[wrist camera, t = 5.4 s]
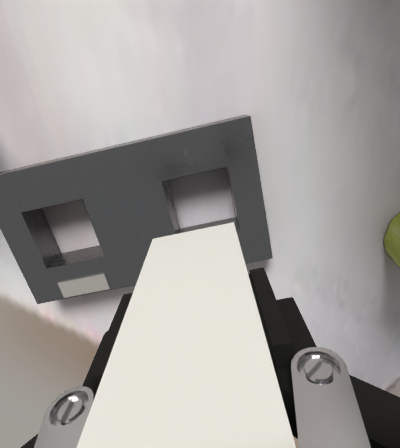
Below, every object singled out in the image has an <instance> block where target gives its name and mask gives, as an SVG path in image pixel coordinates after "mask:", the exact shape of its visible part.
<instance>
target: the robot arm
mask: <svg viewBox="0 0 400 448" xmlns="http://www.w3.org/2000/svg"><path fill="white" fill-rule="evenodd" d="M248 275H249V279H250V283H251V286H252V290H253V294H254V297H255V301H256V304H257V308H258V312H259V315H260V319H261V323H262V326H263V330H264V333H265V337H266V341H267V344H268V348H269V351H270V355H271V359H272V362H273V366H274V370H275V373H276V377H277V380H278V384H279V388H280V391H281V395H282V399H283V402H284V406H285V409H286V413H287V417H288V420H289V424H290V428H291V431H292V435H293V436H294V437H296V438H297V439H298V442H299V448H400V397H398V396H395V395H393V394H391V393H389V392H386V391H384V390H382V389H380V388H378V387H375V386H373V385H371V384H369V383H366V382H364V381H362V380H360V379H358V378H355V377H353V376H351V375H349V373H348V370H347V366H346V364H345V362H344V361H343V359H342V358H341V357H340V356H339V355H338V354H336V353H335V352H333V351H331V350H329V349H325V348H322V347H316V345H315V343H314V341H313V339H312V336H311V334H310V332H309V330H308V328H307V326H306V324H305V322H304V320H303V317H302V315H301V313H300V311H299V309H298V307H297V305H296V303H295V301H294V299H293V298H292V297H291V298H285V299H280V300H276V298H275V296H274V293H273V290H272V288H271V285H270V283H269V280H268V277H267V275H266V272H265V270H264V268H258V269H253V270H250V274H248ZM132 294H133V293H129V294H124V295H123V297H122V299H121V302H120V304H119V306H118V309H117V311H116V314H115V316H114V319H113V321H112V323H111V326H110V328H109V331H107V332H106V333H105V334H104V336H103V338H102V341H101V343H100V346H99V348H98V350H97V353H96V355H95V357H94V360H93V362H92V365H91V367H90V369H89V372H88V374H87V377H86V379H85V381H84V383H83V386H79V387H74V388H72V389H69V390H67V391H65V392H64V393H62V394H61V395H60V396H58V397H57V398H56V399H55V400H54V401H53V402H52V404H51V405H50V406H49V407H48V409H47V411H46V413H45V415H44V419H43V422H42V425H41V428H40V431H39V433H38V434H37V435H36V436H35V437H33V438H32V439H31V440H30V441H28V442H27V443H26V444H25V445H23V446H22V447H21V448H76V447H77V445H78V442H79V439H80V436H81V434H82V431H83V428H84V426H85V423H86V420H87V417H88V415H89V412H90V409H91V406H92V404H93V401H94V398H95V395H96V393H97V390H98V387H99V384H100V382H101V379H102V376H103V373H104V371H105V368H106V365H107V363H108V360H109V357H110V354H111V352H112V349H113V346H114V343H115V341H116V338H117V335H118V332H119V330H120V327H121V324H122V321H123V319H124V316H125V313H126V310H127V308H128V305H129V302H130V300H131V297H132Z"/></svg>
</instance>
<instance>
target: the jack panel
mask: <svg viewBox="0 0 400 448" xmlns="http://www.w3.org/2000/svg"><path fill="white" fill-rule="evenodd" d="M224 167H227V172H228V177H229V183H230V188H231V193H232V198H233V203H234V209H235V214H236V217H235V218H230V219H225V220H220V221H216V222H211V223H206V224H201V225H196V226H192V227H187V228H182V229H180V227H179V223H178V219H177V216H176V212H175V208H174V204H173V201H172V197H171V193H170V189H169V186H168V182H167V180H170V179H174V178H179V177H183V176H188V175H192V174H197V173H201V172H206V171H210V170H215V169H219V168H224ZM80 199H83V201H84V204H85V206H86V209H87V212H88V214H89V217H90V220H91V222H92V225H93V228H94V230H95V233H96V236H97V238H98V241H99V244H100V246H95V247H90V248H86V249H81V250H76V251H71V252H66V253H62V254H61V252H60V250H59V247H58V245H57V243H56V240H55V238H54V236H53V233H52V231H51V229H50V226H49V224H48V222H47V220H46V217H45V215H44V213H43V210H42V208H44V207H48V206H53V205H57V204H62V203H66V202H71V201H75V200H80ZM232 222H234V225H235V228H236V232H237V236H238V239H239V243H240V246H241V250H242V254H243V257H244V261H245V263H250V262H255V261H261V260H266V259H271V258H272V252H271V245H270V239H269V232H268V226H267V220H266V213H265V207H264V200H263V194H262V188H261V181H260V175H259V168H258V162H257V156H256V149H255V143H254V136H253V130H252V123H251V117H250V116H248V115H243V116H238V117H234V118H230V119H226V120H221V121H217V122H213V123H209V124H204V125H200V126H196V127H192V128H187V129H183V130H179V131H174V132H170V133H166V134H162V135H157V136H153V137H149V138H145V139H140V140H136V141H132V142H128V143H123V144H119V145H115V146H111V147H106V148H102V149H98V150H94V151H89V152H85V153H81V154H77V155H72V156H68V157H64V158H60V159H55V160H51V161H47V162H42V163H38V164H34V165H30V166H25V167H21V168H17V169H13V170H8V171H4V172H0V229H1V231H2V233H3V235H4V237H5V239H6V241H7V243H8V245H9V247H10V249H11V251H12V253H13V255H14V257H15V259H16V261H17V263H18V265H19V267H20V269H21V271H22V273H23V275H24V277H25V279H26V281H27V284H28V286H29V288H30V290H31V292H32V294H33V296H34V298H35V300H36V302H37V304H40V303H45V302H50V301H55V300H60V299H65V298H71V297H76V296H81V295H86V294H91V293H96V292H101V291H106V290H112V289H117V288H122V287H127V286H132V285H136V283H137V280H138V278H139V275H140V272H141V269H142V267H143V264H144V261H145V258H146V256H147V253H148V250H149V247H150V245H151V242H152V239H154V238H159V237H164V236H169V235H174V234H178V233H183V232H188V231H193V230H198V229H203V228H208V227H212V226H217V225H222V224H227V223H232Z"/></svg>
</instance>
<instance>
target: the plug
mask: <svg viewBox="0 0 400 448" xmlns="http://www.w3.org/2000/svg"><path fill="white" fill-rule="evenodd" d="M76 448H296V446H295V442H294V438H293V435H292V431H291V428H290V424H289V420H288V417H287V413H286V409H285V406H284V402H283V399H282V395H281V391H280V388H279V384H278V380H277V377H276V373H275V370H274V366H273V362H272V359H271V355H270V351H269V348H268V344H267V341H266V337H265V333H264V330H263V326H262V323H261V319H260V315H259V312H258V308H257V304H256V301H255V297H254V294H253V290H252V286H251V283H250V279H249V275H248V272H247V268H246V265H245V261H244V257H243V254H242V250H241V246H240V243H239V239H238V236H237V232H236V228H235V225H234V222H232V223H227V224H222V225H217V226H212V227H208V228H203V229H198V230H193V231H188V232H183V233H178V234H174V235H169V236H164V237H159V238H154V239H152V242H151V245H150V247H149V250H148V253H147V256H146V258H145V261H144V264H143V267H142V269H141V272H140V275H139V278H138V280H137V283H136V286H135V289H134V291H133V294H132V297H131V300H130V302H129V305H128V308H127V310H126V313H125V316H124V319H123V321H122V324H121V327H120V330H119V332H118V335H117V338H116V341H115V343H114V346H113V349H112V352H111V354H110V357H109V360H108V363H107V365H106V368H105V371H104V373H103V376H102V379H101V382H100V384H99V387H98V390H97V393H96V395H95V398H94V401H93V404H92V406H91V409H90V412H89V415H88V417H87V420H86V423H85V426H84V428H83V431H82V434H81V436H80V439H79V442H78V445H77V447H76Z"/></svg>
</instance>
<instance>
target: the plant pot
mask: <svg viewBox="0 0 400 448" xmlns="http://www.w3.org/2000/svg"><path fill="white" fill-rule="evenodd" d="M384 246H385V249H386V251H387V253H388V255H389V256H390V257H391V258H392V259H393V260H394V262H395V263H396V264H397V265H398V266H399V267H400V213H399V214H397V215H396V216H395V217H394V218H393V219H392V220H391V222H390V224H389V227H388V230H387V233H386V235H385V237H384Z"/></svg>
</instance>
